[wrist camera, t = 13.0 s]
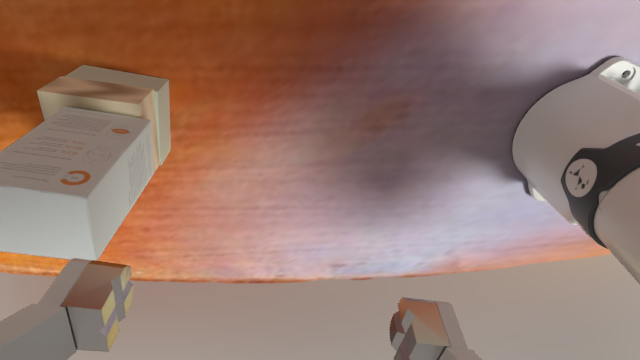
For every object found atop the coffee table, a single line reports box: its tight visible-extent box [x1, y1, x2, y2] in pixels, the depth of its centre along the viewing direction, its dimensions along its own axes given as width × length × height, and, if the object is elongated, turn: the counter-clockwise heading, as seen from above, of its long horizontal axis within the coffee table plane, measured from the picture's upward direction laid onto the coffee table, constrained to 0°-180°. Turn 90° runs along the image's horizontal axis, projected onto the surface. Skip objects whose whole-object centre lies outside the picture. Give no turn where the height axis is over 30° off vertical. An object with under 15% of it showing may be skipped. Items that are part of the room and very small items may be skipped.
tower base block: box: [65, 65, 171, 166], centre depth 44 cm, size 9×9×4 cm
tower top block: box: [37, 76, 160, 184], centre depth 40 cm, size 9×9×4 cm
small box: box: [0, 107, 154, 261], centre depth 33 cm, size 8×6×13 cm
